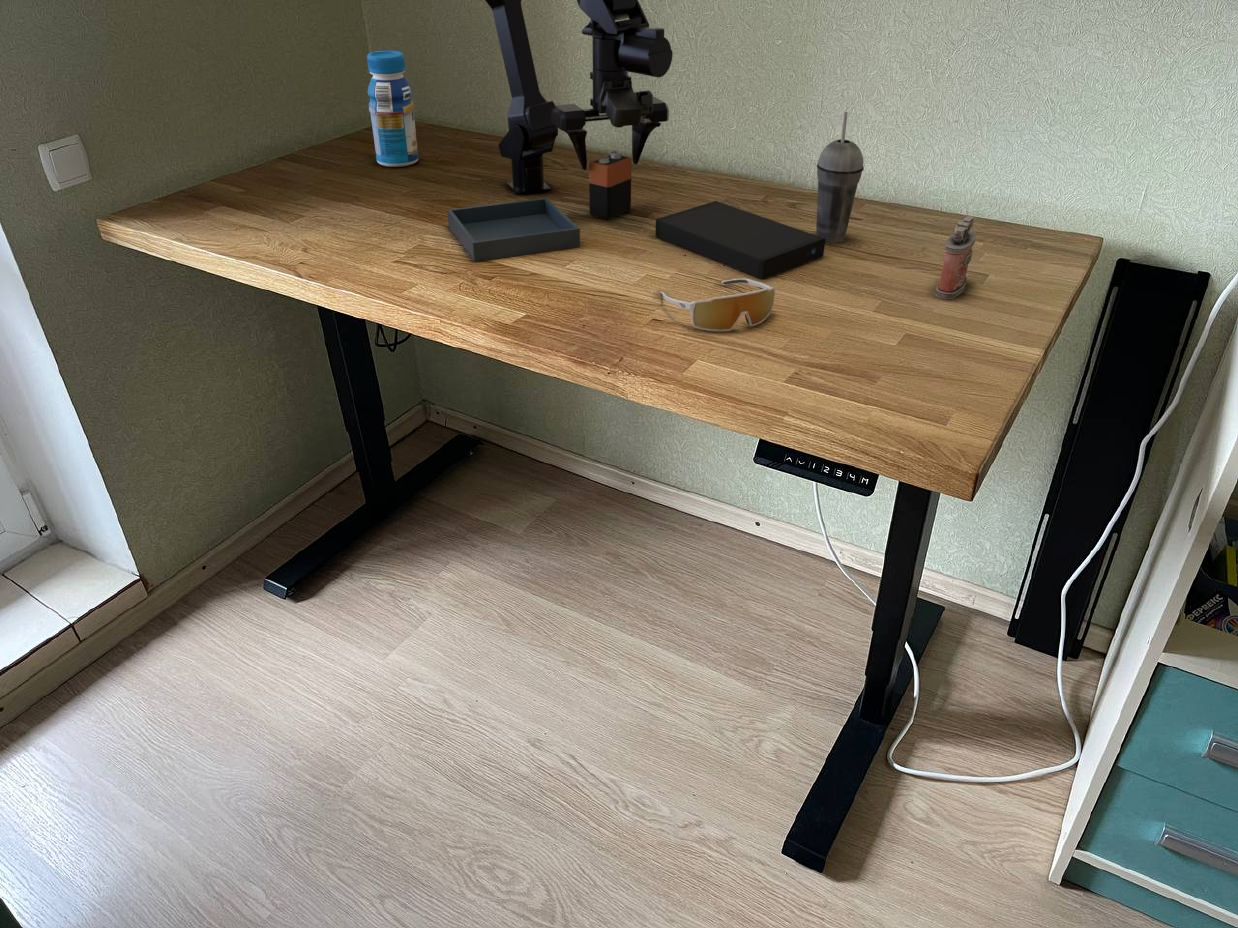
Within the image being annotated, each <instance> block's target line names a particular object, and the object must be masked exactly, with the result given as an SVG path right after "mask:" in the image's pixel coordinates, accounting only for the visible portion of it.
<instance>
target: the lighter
mask: <svg viewBox="0 0 1238 928" xmlns="http://www.w3.org/2000/svg"><path fill="white" fill-rule="evenodd" d="M974 222H975V218H974V216H971V215H967V216H966V217H965V218H964V219H963V220H958V221H957V224H956V226H955V228H954V233H952V234H951V235H950V236H949V237H948V238H947V240H946V242H945V247H944V250H945V253H944V257H943V264H942V268H941V273H940V278H939V282H938V283H937V286H936V290H935V296H936V297H938V298H941V299H946V300H952V299H955V298H956V297H957V296H959V295H960V294H962V293H963V291H964V289H965V288H966V283H967V278H968V277H967V273H968V269H969V268H968V267H969V264H970V262H971V261H972V256H973V246H975V243H976V240H977V239H976V238H977V233H976V232H975V231H972V230H971V229H972V228H973V227H974Z"/></svg>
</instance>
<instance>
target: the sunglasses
mask: <svg viewBox="0 0 1238 928" xmlns="http://www.w3.org/2000/svg"><path fill="white" fill-rule="evenodd" d="M739 284H740V285H741V284H743V285H744V284H746V285H750V286H752V287H757V288H762V289H758V290H753V291H748V292H743V293H736V294H731V295H722V296H715V297H714V296H713V297H710V298H709V299H700V300H693V301H692V302H691V301H685V300H680V299H676V298H673V297H671V296H668V295H667V294H666V293H665V292H663V291H660V293H659V295H660V297H661V298H663V299H664V300H665V301H666V302H668V303H672V304H674V305H676V306H677V307H679V309H681V310H688V311H690V321H691V325H692V326H693V328H696V329H699V330H703V331H708V332H730V331H732V330H733V329H734V328H735V327H736V325H737V324H738V322H739V320H740V319H741V317H742V316H744V319H745V321H746V323H747V325H749V326H750V327H755V326H757V325H759V324H762V323H763V322H764V321H765V320H767V318H769V316H770V315H771V312H772V309H773V307H774V302H775V296H776V289H775V287H774V286H770V285H768V284H766V283H763V282H760V281H756V280H753V279H751V278H733V279H727V280H722V281H721V285H723V286H728V285H739Z"/></svg>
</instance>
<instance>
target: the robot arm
mask: <svg viewBox="0 0 1238 928" xmlns="http://www.w3.org/2000/svg"><path fill="white" fill-rule="evenodd" d="M484 1H485V2H486V4H487V5H488V6H489V8H490V9H491V11H492V16H493V19H494V25H495V29H496V34H497V37H498V38H497V39H498V43H499V46H500V51H501V55H502V59H503V65H504V69H505V73H506V77H507V82H508V86H509V91H510V96H511V101H510V105H509V109H508V111H507V112H508V113H507V125H508V131H507V133H506V134H505V135H504V136H503V138H502V139H501V141H500V142H499V143H498V144H497V145H498V149H499V152H500V156H501V158H506V159H509V160H511V177H512V181H507V182H506V185H507V187H508V188H510V190H512V192H513V193H514V194H515V195H525V194H534V193H541V192H549V191H550V192H551V186H549V185H548V184H547V183H546V182H545V177H544V176H545V175H544V154H547V153H552V152H553V150H554V146H555V142H556V139H557V137H559V130H560V131H563V132H564V133H565V134H567V136H568V137H569V139H570V141H571V143H572V146H573V148H574V151H575V153H576V157H577V159H578V161H579V164H580V166H581V169H582V170H583V171H587V168H588V157H587V155H588V154H587V144H586V139H587V135H588V131H587V130H586V129H585V128H584V127H585V126H586V123H587V122H596V121H599V122H600V121H606V120H609V121H610V124H611V126H612V127H615V128H617V129H621V128H624V127H628V126H629V127H630V126H631V159H632V164H634V165H638V164H639V161H640V159H641V156H642V153H643V151H644V148H645V145H646V143H647V140H648V138H649V136H650V135H651V133H652V132H653V131H654V130H655V129H656V128H660V127H661V125H662V123H664V122H668V121H669V120H670V119H669V118H670V117H669V116H670V109H669V106H668V104H667V103H666V102H665V101H663V100H661V99H660V98H658V97H655V96H654V95H653V93H652V91H651V90H639V91H634V88H633V81H632V76H630V75H629V73H633V74H637V75H643V76H648V77H653V78H662V77H664V76H665V75H666V74H667V73H668V71H669V70H670V68H671V65H672V62H673V55H674V53H673V50H672V46H671V43H670V41H669V39H667V38H666V37H665V29H664V28H663V27H650V23H649V21H648V19H647V16H646V15H645V12H644V10H643V8H642V6H641V3H640V2H639V0H576V2H577V5H578V8H579V9H580V10H581V11H582V12H583V13H584V14H585V15H586V16H587V17H588V18H589V20H590V21H589V22H588V23H587V25H585V26H583V27H584V28H582V29H581V34H582V35H584V36H591V37H592V39H591V40H592V41H591V42H592V71H590V72H589V79H590V80H591V81H592V98H590V99H589V105H590V106H591V107H592V108H585V109H584V108H581V107H580V106H579V105H576V104H575V103H568V104H557V105H555V102H554V101H553V100H550V101H547V99H546V98H545V97H544V96H543V95H542V93H541V90H540V86H539V82H538V78H537V73H536V67H535V62H534V58H533V53H532V50H531V43H530V40H529V35H528V30H527V25H526V21H525V17H524V11H523V6H522V0H484Z"/></svg>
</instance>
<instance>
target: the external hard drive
mask: <svg viewBox="0 0 1238 928" xmlns="http://www.w3.org/2000/svg"><path fill="white" fill-rule="evenodd" d="M654 228H655V230H654V231H655V232H654V233H655V237H656V238H659V239H660V240H663V241H666V242H669V243H671V244H673V245H676V246H678V247H681V248H682V249H683V248H684V249H686V250H688V251H692V252H694V253H696V254H698V255H700V256H703V257H706V258H708V259H710V260H714V261H716V262H719V263H721V264H723V265H726V266H728V267H731V268H734V269H736V270H739V271H741V272H744V273H746V274H749V275H751V276H753V277H756V278H758V279H761V280H765V279H767V278H771V277H773V276H777V275H779V274H781V273H783V272H786V271H789V270H791V269H795V268H797V267H799V266H802V265H805V264H808V263H810V262H813V261H816V260H818V259H820V258H821V259H822V258H823V257H824V254H825V246H826V242H825V238H822V237H819V236H817V234H814V233H810V232H809V231H804V230H801V229H799V228H797V227H796V228H795V227H793V226H791V225H787V224H784V223H782V222H779V221H777V220H776V221H775V220H773V219H771V218H770V219H769V218H768V217H764V216H761V215H758V214H755V213H753V212H749V211H747V210H744V209H741V208H738V207H735V206H733V205H729V204H727V203H725V202H721V201H718V200H714V201H711V202H708V203H705V204H701V205H697V206H695V207H691V208H688V209H684V210H681V211H678V212H674V213H671V214H668V215H664V216H661V217H658V218H656V219H655V227H654Z"/></svg>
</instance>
